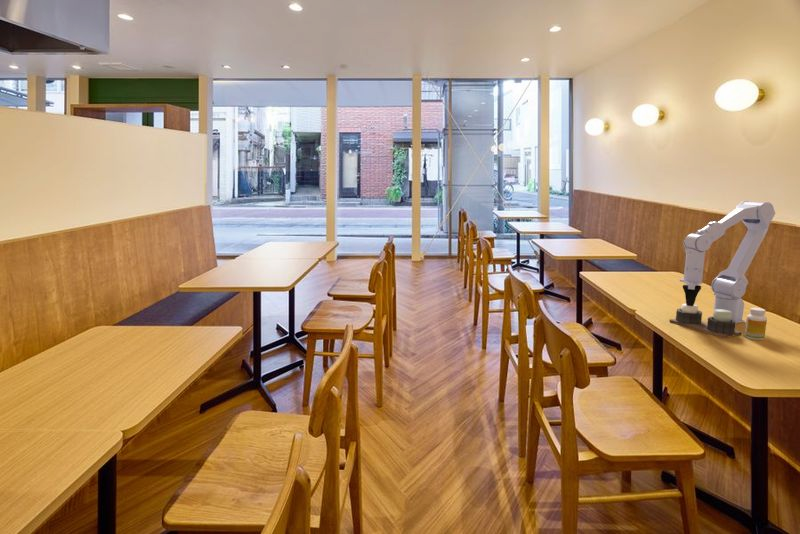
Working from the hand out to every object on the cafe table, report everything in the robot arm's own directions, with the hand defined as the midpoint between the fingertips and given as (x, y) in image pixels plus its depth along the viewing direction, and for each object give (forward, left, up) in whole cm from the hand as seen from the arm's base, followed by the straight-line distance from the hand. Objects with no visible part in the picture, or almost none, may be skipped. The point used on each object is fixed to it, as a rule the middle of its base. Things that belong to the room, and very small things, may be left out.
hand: (689, 305), depth 181 cm
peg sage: (0, +12, -3) cm, 12 cm away
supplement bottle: (-5, +20, -7) cm, 22 cm away
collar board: (0, +6, -7) cm, 9 cm away
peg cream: (0, 0, -3) cm, 3 cm away
